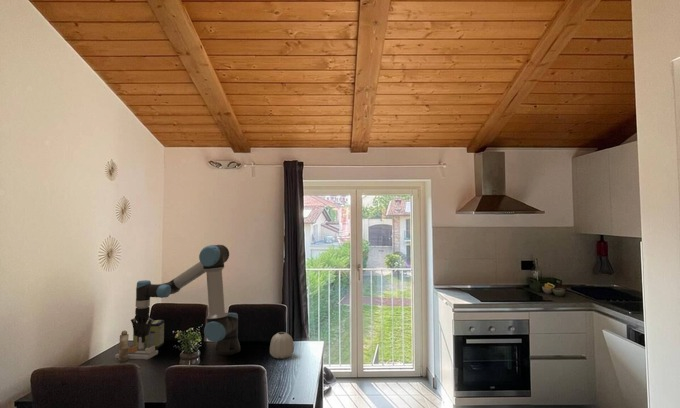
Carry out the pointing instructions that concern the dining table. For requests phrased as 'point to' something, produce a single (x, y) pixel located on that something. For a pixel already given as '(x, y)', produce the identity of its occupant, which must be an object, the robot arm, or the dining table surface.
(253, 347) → the dining table surface
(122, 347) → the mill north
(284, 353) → the vase
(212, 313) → the robot arm
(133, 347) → the breaker
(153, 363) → the dining table surface
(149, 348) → the breaker
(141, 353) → the white rectangular tray
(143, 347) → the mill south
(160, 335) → the protein box
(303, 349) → the dining table surface
